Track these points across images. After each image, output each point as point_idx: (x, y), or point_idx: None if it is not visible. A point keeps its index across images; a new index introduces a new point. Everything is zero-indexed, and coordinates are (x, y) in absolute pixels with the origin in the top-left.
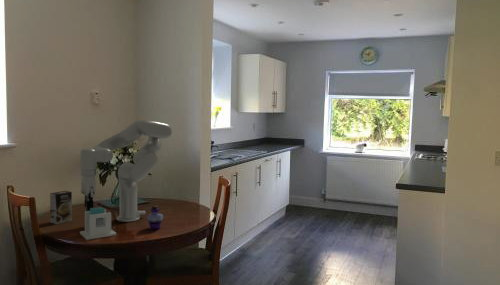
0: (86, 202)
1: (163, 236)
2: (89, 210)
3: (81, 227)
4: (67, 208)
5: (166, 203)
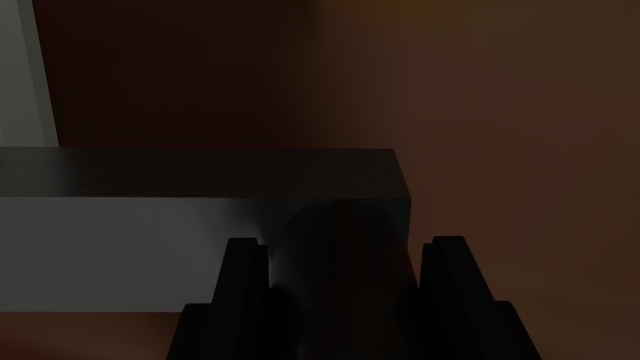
0: (313, 341)
1: None
2: (271, 258)
3: (340, 26)
4: None
5: None
